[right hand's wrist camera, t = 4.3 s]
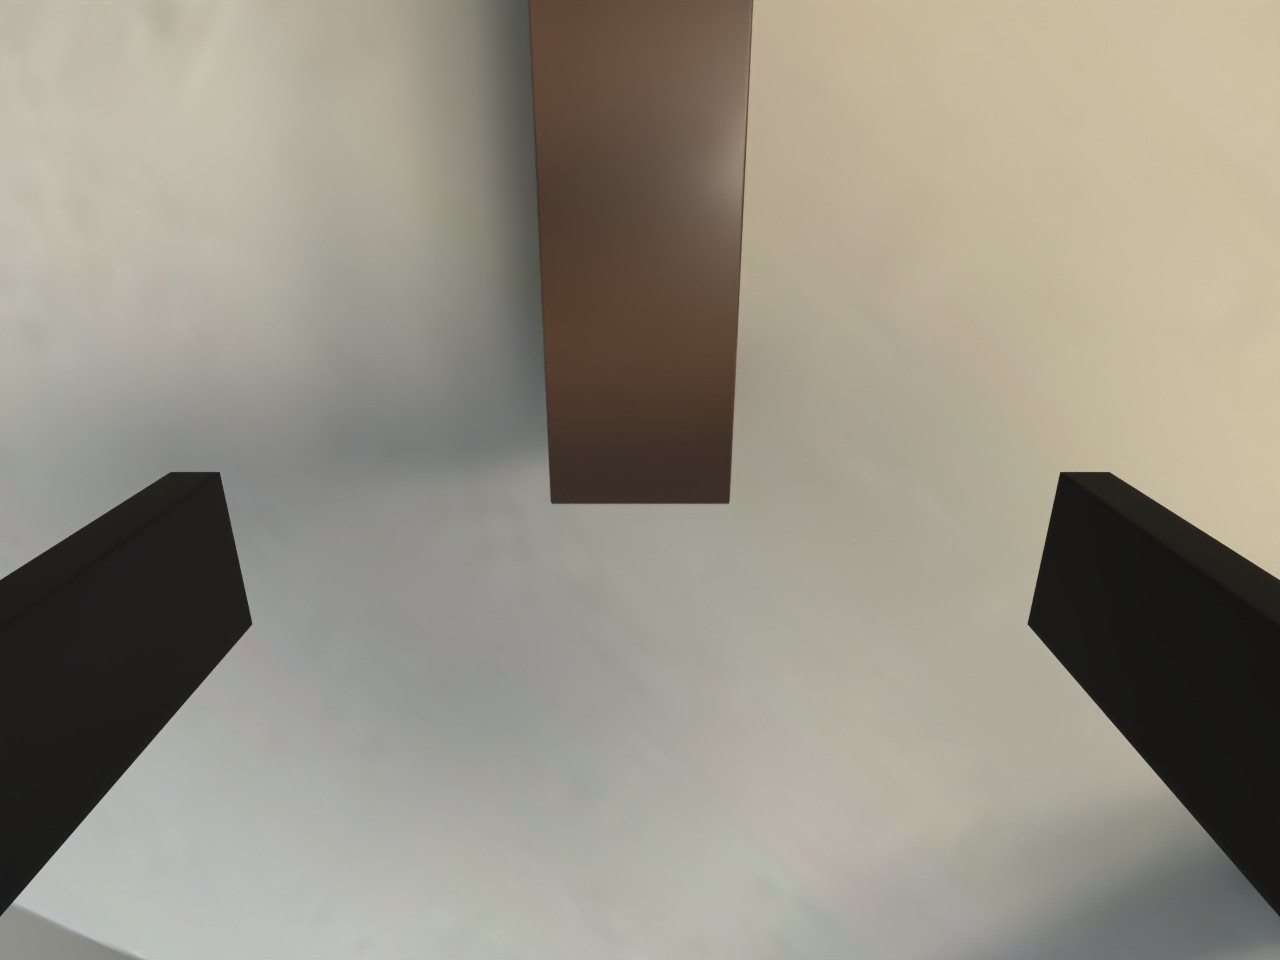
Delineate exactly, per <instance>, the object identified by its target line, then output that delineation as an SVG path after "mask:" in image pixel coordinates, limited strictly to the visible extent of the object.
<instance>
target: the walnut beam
mask: <svg viewBox="0 0 1280 960" xmlns="http://www.w3.org/2000/svg"><path fill="white" fill-rule="evenodd" d="M528 14H529V36H530V58H531V80H532V102H533V124H534V145H535V167H536V189H537V211H538V233H539V255H540V276H541V298H542V320H543V342H544V364H545V386H546V407H547V429H548V451H549V473H550V495H551V503H552V504H729V502H730V482H731V461H732V440H733V418H734V397H735V376H736V355H737V333H738V312H739V291H740V270H741V248H742V227H743V206H744V185H745V163H746V142H747V121H748V100H749V78H750V57H751V36H752V14H753V0H528Z"/></svg>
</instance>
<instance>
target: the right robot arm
mask: <svg viewBox="0 0 1280 960" xmlns="http://www.w3.org/2000/svg"><path fill="white" fill-rule="evenodd" d="M251 625H252V620H251V616H250V611H249V606H248V602H247V597H246V592H245V588H244V583H243V578H242V574H241V569H240V564H239V560H238V555H237V550H236V546H235V541H234V537H233V532H232V527H231V523H230V518H229V513H228V509H227V504H226V499H225V495H224V490H223V485H222V481H221V476H220V472H170V473H169V474H167V475H165V476H164V477H162V478H161V479H159V480H157V481H156V482H154V483H153V484H151V485H150V486H148V487H146V488H145V489H143V490H142V491H140V492H139V493H137V494H135V495H134V496H132V497H131V498H129V499H127V500H126V501H124V502H123V503H121V504H120V505H118V506H116V507H115V508H113V509H112V510H110V511H109V512H107V513H105V514H104V515H102V516H101V517H99V518H98V519H96V520H94V521H93V522H91V523H90V524H88V525H86V526H85V527H83V528H82V529H80V530H79V531H77V532H75V533H74V534H72V535H71V536H69V537H68V538H66V539H64V540H63V541H61V542H60V543H58V544H57V545H55V546H53V547H52V548H50V549H49V550H47V551H45V552H44V553H42V554H41V555H39V556H38V557H36V558H34V559H33V560H31V561H30V562H28V563H27V564H25V565H23V566H22V567H20V568H19V569H17V570H15V571H14V572H12V573H11V574H9V575H8V576H6V577H4V578H3V579H1V580H0V916H1V915H2V914H3V913H4V912H5V910H6V909H7V908H8V907H9V906H10V905H11V904H12V902H13V901H14V900H15V899H16V898H17V897H18V895H19V894H20V893H21V892H22V891H23V890H24V888H25V887H26V886H27V885H28V884H29V883H30V881H31V880H32V879H33V878H34V877H35V876H36V875H37V873H38V872H39V871H40V870H41V869H42V868H43V866H44V865H45V864H46V863H47V862H48V861H49V859H50V858H51V857H52V856H53V855H54V854H55V852H56V851H57V850H58V849H59V848H60V847H61V846H62V844H63V843H64V842H65V841H66V840H67V839H68V837H69V836H70V835H71V834H72V833H73V832H74V830H75V829H76V828H77V827H78V826H79V825H80V824H81V822H82V821H83V820H84V819H85V818H86V817H87V815H88V814H89V813H90V812H91V811H92V810H93V808H94V807H95V806H96V805H97V804H98V803H99V801H100V800H101V799H102V798H103V797H104V796H105V795H106V793H107V792H108V791H109V790H110V789H111V788H112V786H113V785H114V784H115V783H116V782H117V781H118V779H119V778H120V777H121V776H122V775H123V774H124V772H125V771H126V770H127V769H128V768H129V767H130V766H131V764H132V763H133V762H134V761H135V760H136V759H137V757H138V756H139V755H140V754H141V753H142V752H143V750H144V749H145V748H146V747H147V746H148V745H149V743H150V742H151V741H152V740H153V739H154V738H155V737H156V735H157V734H158V733H159V732H160V731H161V730H162V728H163V727H164V726H165V725H166V724H167V723H168V721H169V720H170V719H171V718H172V717H173V716H174V714H175V713H176V712H177V711H178V710H179V709H180V708H181V706H182V705H183V704H184V703H185V702H186V701H187V699H188V698H189V697H190V696H191V695H192V694H193V692H194V691H195V690H196V689H197V688H198V687H199V685H200V684H201V683H202V682H203V681H204V680H205V679H206V677H207V676H208V675H209V674H210V673H211V672H212V670H213V669H214V668H215V667H216V666H217V665H218V663H219V662H220V661H221V660H222V659H223V658H224V656H225V655H226V654H227V653H228V652H229V651H230V650H231V648H232V647H233V646H234V645H235V644H236V643H237V641H238V640H239V639H240V638H241V637H242V636H243V634H244V633H245V632H246V631H247V630H248V629H249V627H250V626H251ZM1028 625H1029V626H1030V628H1031V629H1032V630H1033V631H1034V632H1035V633H1036V634H1037V636H1038V637H1039V638H1040V639H1041V640H1042V641H1043V643H1044V644H1045V645H1046V646H1047V647H1048V648H1049V650H1050V651H1051V652H1052V653H1053V654H1054V655H1055V656H1056V658H1057V659H1058V660H1059V661H1060V662H1061V663H1062V665H1063V666H1064V667H1065V668H1066V669H1067V670H1068V672H1069V673H1070V674H1071V675H1072V676H1073V677H1074V679H1075V680H1076V681H1077V682H1078V683H1079V684H1080V685H1081V687H1082V688H1083V689H1084V690H1085V691H1086V692H1087V694H1088V695H1089V696H1090V697H1091V698H1092V699H1093V701H1094V702H1095V703H1096V704H1097V705H1098V706H1099V708H1100V709H1101V710H1102V711H1103V712H1104V713H1105V714H1106V716H1107V717H1108V718H1109V719H1110V720H1111V721H1112V723H1113V724H1114V725H1115V726H1116V727H1117V728H1118V730H1119V731H1120V732H1121V733H1122V734H1123V735H1124V737H1125V738H1126V739H1127V740H1128V741H1129V742H1130V743H1131V745H1132V746H1133V747H1134V748H1135V749H1136V750H1137V752H1138V753H1139V754H1140V755H1141V756H1142V757H1143V759H1144V760H1145V761H1146V762H1147V763H1148V764H1149V766H1150V767H1151V768H1152V769H1153V770H1154V771H1155V772H1156V774H1157V775H1158V776H1159V777H1160V778H1161V779H1162V781H1163V782H1164V783H1165V784H1166V785H1167V786H1168V788H1169V789H1170V790H1171V791H1172V792H1173V793H1174V795H1175V796H1176V797H1177V798H1178V799H1179V800H1180V801H1181V803H1182V804H1183V805H1184V806H1185V807H1186V808H1187V810H1188V811H1189V812H1190V813H1191V814H1192V815H1193V817H1194V818H1195V819H1196V820H1197V821H1198V822H1199V824H1200V825H1201V826H1202V827H1203V828H1204V829H1205V830H1206V832H1207V833H1208V834H1209V835H1210V836H1211V837H1212V839H1213V840H1214V841H1215V842H1216V843H1217V844H1218V846H1219V847H1220V848H1221V849H1222V850H1223V851H1224V853H1225V854H1226V855H1227V856H1228V857H1229V858H1230V859H1231V861H1232V862H1233V863H1234V864H1235V865H1236V866H1237V868H1238V869H1239V870H1240V871H1241V872H1242V873H1243V875H1244V876H1245V877H1246V878H1247V879H1248V880H1249V881H1250V883H1251V884H1252V885H1253V886H1254V887H1255V888H1256V890H1257V891H1258V892H1259V893H1260V894H1261V895H1262V897H1263V898H1264V899H1265V900H1266V901H1267V902H1268V904H1269V905H1270V906H1271V907H1272V908H1273V909H1274V910H1275V912H1276V913H1277V914H1278V915H1279V916H1280V580H1279V579H1277V578H1276V577H1274V576H1272V575H1271V574H1269V573H1268V572H1266V571H1265V570H1263V569H1261V568H1260V567H1258V566H1257V565H1255V564H1253V563H1252V562H1250V561H1249V560H1247V559H1246V558H1244V557H1242V556H1241V555H1239V554H1238V553H1236V552H1235V551H1233V550H1231V549H1230V548H1228V547H1227V546H1225V545H1223V544H1222V543H1220V542H1219V541H1217V540H1216V539H1214V538H1212V537H1211V536H1209V535H1208V534H1206V533H1205V532H1203V531H1201V530H1200V529H1198V528H1197V527H1195V526H1194V525H1192V524H1190V523H1189V522H1187V521H1186V520H1184V519H1182V518H1181V517H1179V516H1178V515H1176V514H1175V513H1173V512H1171V511H1170V510H1168V509H1167V508H1165V507H1164V506H1162V505H1160V504H1159V503H1157V502H1156V501H1154V500H1153V499H1151V498H1149V497H1148V496H1146V495H1145V494H1143V493H1141V492H1140V491H1138V490H1137V489H1135V488H1134V487H1132V486H1130V485H1129V484H1127V483H1126V482H1124V481H1123V480H1121V479H1119V478H1118V477H1116V476H1115V475H1113V474H1111V473H1110V472H1060V476H1059V481H1058V485H1057V490H1056V495H1055V499H1054V504H1053V509H1052V513H1051V518H1050V523H1049V527H1048V532H1047V537H1046V541H1045V546H1044V550H1043V555H1042V560H1041V564H1040V569H1039V574H1038V578H1037V583H1036V588H1035V592H1034V597H1033V602H1032V606H1031V611H1030V616H1029V620H1028Z"/></svg>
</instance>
